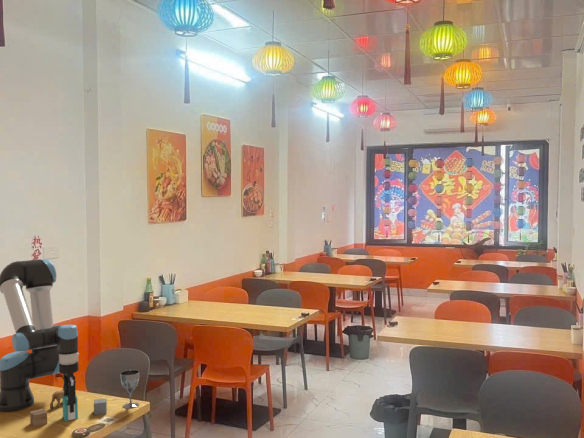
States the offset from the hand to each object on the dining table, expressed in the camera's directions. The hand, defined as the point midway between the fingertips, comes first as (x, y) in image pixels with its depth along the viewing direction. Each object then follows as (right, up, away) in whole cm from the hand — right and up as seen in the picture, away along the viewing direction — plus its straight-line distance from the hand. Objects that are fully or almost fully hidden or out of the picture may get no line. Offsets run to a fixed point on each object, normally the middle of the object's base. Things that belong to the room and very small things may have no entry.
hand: (70, 417), depth 227 cm
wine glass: (+22, 0, +13) cm, 25 cm away
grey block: (+11, 0, +6) cm, 12 cm away
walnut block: (-11, -1, -6) cm, 12 cm away
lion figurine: (-10, 0, +16) cm, 19 cm away
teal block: (0, 0, 0) cm, 0 cm away
